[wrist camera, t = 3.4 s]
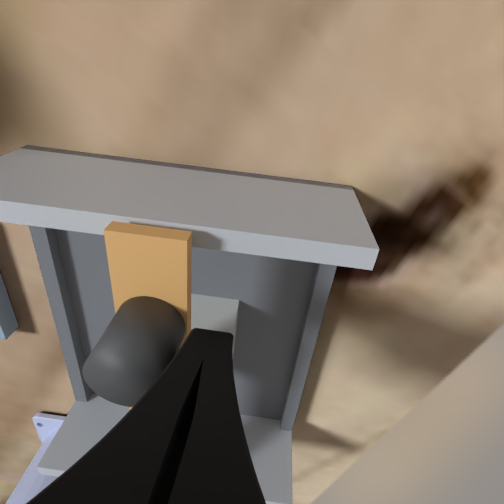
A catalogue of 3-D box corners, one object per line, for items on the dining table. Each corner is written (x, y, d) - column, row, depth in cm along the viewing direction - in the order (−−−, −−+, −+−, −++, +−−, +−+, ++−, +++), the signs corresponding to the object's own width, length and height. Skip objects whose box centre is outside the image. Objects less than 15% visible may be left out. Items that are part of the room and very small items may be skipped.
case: (289, 421, 25) (290, 511, 20) (86, 392, 25) (39, 474, 21) (351, 186, 16) (379, 249, 11) (26, 145, 16) (-84, 189, 11)
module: (234, 350, 21) (220, 429, 17) (169, 342, 21) (139, 417, 17) (239, 300, 19) (225, 374, 15) (167, 290, 19) (132, 361, 15)
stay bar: (189, 504, 20) (175, 571, 18) (147, 497, 20) (126, 563, 18) (191, 231, 11) (161, 291, 8) (112, 221, 11) (57, 276, 8)
